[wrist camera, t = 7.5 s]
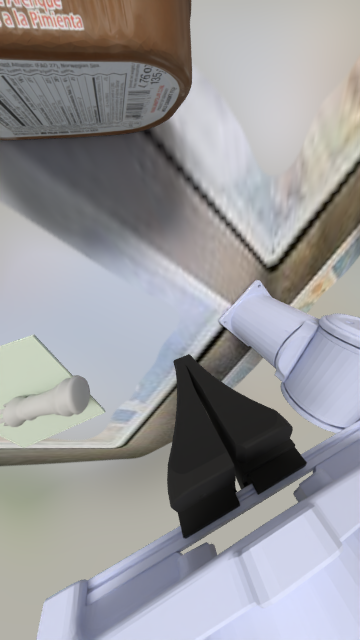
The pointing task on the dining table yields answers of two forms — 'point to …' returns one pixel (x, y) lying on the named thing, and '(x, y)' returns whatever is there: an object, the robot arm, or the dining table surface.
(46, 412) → the rook chess piece
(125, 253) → the dining table surface
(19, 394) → the mat
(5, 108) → the tin
